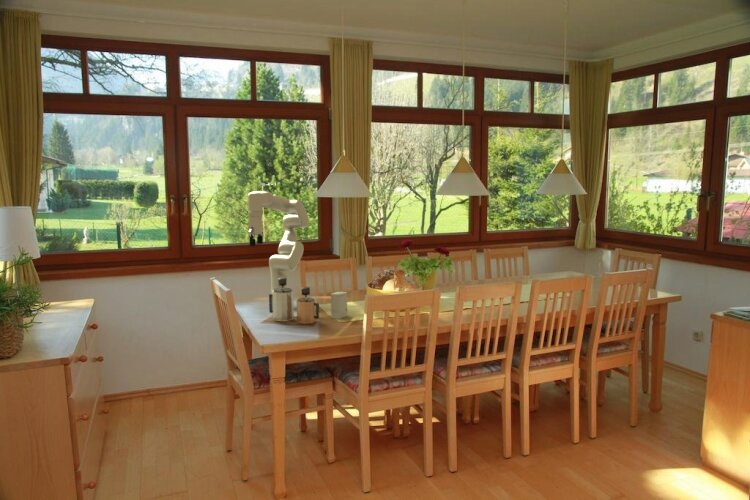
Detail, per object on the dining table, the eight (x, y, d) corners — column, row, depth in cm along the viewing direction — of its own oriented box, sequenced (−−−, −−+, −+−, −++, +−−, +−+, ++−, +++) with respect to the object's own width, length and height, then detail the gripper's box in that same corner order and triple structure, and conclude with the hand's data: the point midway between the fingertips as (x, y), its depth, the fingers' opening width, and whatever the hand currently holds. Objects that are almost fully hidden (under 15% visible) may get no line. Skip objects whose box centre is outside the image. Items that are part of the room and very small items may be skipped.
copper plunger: (302, 313, 310) (302, 286, 308) (313, 314, 309) (313, 286, 307) (298, 316, 304) (297, 288, 302) (309, 317, 303) (309, 289, 301)
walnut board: (273, 316, 322) (273, 314, 322) (324, 320, 315) (324, 318, 315) (260, 325, 305) (260, 322, 304) (313, 328, 298) (313, 326, 298)
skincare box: (339, 321, 313) (339, 294, 311) (330, 319, 316) (330, 293, 314) (347, 317, 321) (347, 291, 319) (338, 316, 324) (338, 290, 321)
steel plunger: (279, 309, 316) (278, 276, 313) (292, 310, 314) (291, 277, 312) (273, 313, 309) (273, 279, 306) (287, 314, 307) (286, 280, 304)
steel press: (274, 315, 319) (273, 286, 317) (296, 317, 316) (295, 288, 314) (265, 320, 308) (265, 290, 306) (288, 322, 305) (288, 292, 303)
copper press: (300, 319, 313) (300, 296, 311) (321, 320, 310) (321, 297, 308) (294, 323, 303) (294, 300, 302) (315, 325, 301) (315, 301, 299)
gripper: (255, 213, 328) (256, 242, 331) (242, 215, 312) (243, 246, 314) (268, 213, 327) (268, 243, 329) (255, 215, 310) (255, 247, 312)
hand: (256, 244), depth 322 cm, fingers open, 9 cm apart
